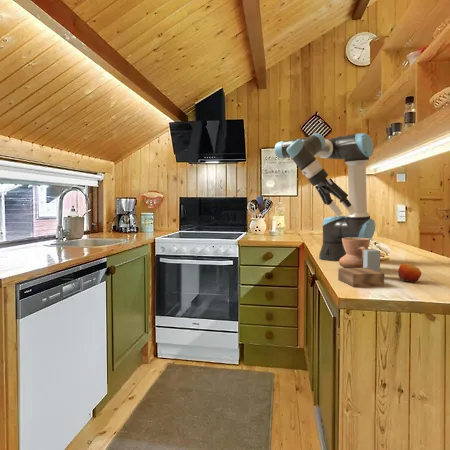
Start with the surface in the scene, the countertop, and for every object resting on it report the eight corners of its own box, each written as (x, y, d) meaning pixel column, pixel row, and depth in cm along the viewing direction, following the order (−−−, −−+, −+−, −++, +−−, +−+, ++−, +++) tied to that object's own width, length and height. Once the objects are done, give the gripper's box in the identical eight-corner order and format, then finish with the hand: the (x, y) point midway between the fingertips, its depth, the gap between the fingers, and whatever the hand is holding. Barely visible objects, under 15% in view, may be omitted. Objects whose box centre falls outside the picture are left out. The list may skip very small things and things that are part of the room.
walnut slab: (366, 280, 143) (367, 267, 143) (384, 286, 132) (384, 273, 131) (338, 281, 142) (338, 268, 142) (353, 288, 130) (353, 274, 130)
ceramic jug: (333, 266, 174) (334, 236, 173) (363, 265, 174) (364, 236, 173) (347, 273, 156) (347, 240, 155) (380, 273, 156) (381, 240, 155)
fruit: (389, 275, 144) (401, 258, 143) (407, 285, 143) (418, 268, 142) (397, 279, 136) (409, 261, 135) (415, 290, 135) (427, 272, 134)
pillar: (363, 275, 150) (363, 249, 150) (375, 275, 150) (375, 249, 150) (367, 278, 145) (367, 251, 145) (379, 278, 145) (380, 251, 145)
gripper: (299, 183, 159) (328, 221, 160) (318, 173, 135) (352, 218, 135) (312, 173, 160) (341, 211, 160) (333, 161, 135) (367, 206, 136)
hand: (346, 214), depth 148 cm, fingers open, 13 cm apart
